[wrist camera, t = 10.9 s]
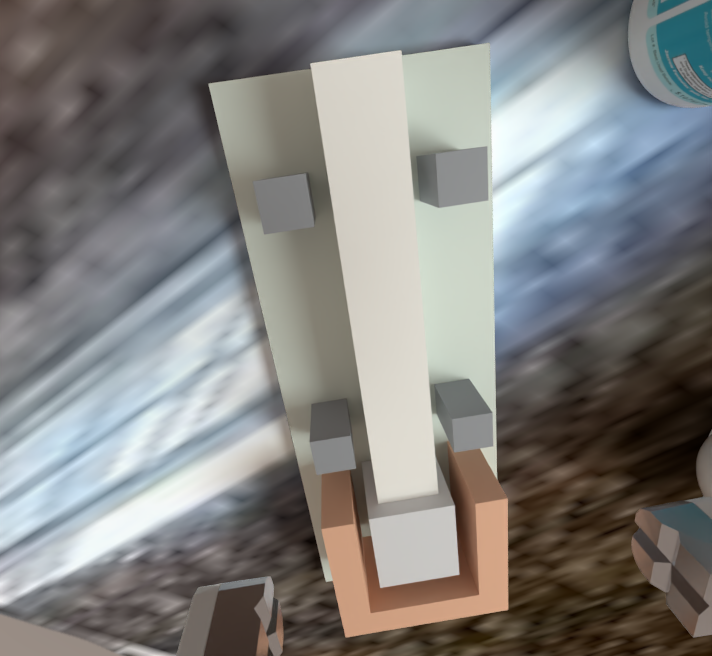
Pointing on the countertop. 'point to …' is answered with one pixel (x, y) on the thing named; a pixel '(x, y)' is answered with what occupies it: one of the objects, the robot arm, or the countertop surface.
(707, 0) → the pill bottle
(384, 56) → the white long bar
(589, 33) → the countertop surface
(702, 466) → the teapot
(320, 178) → the board
